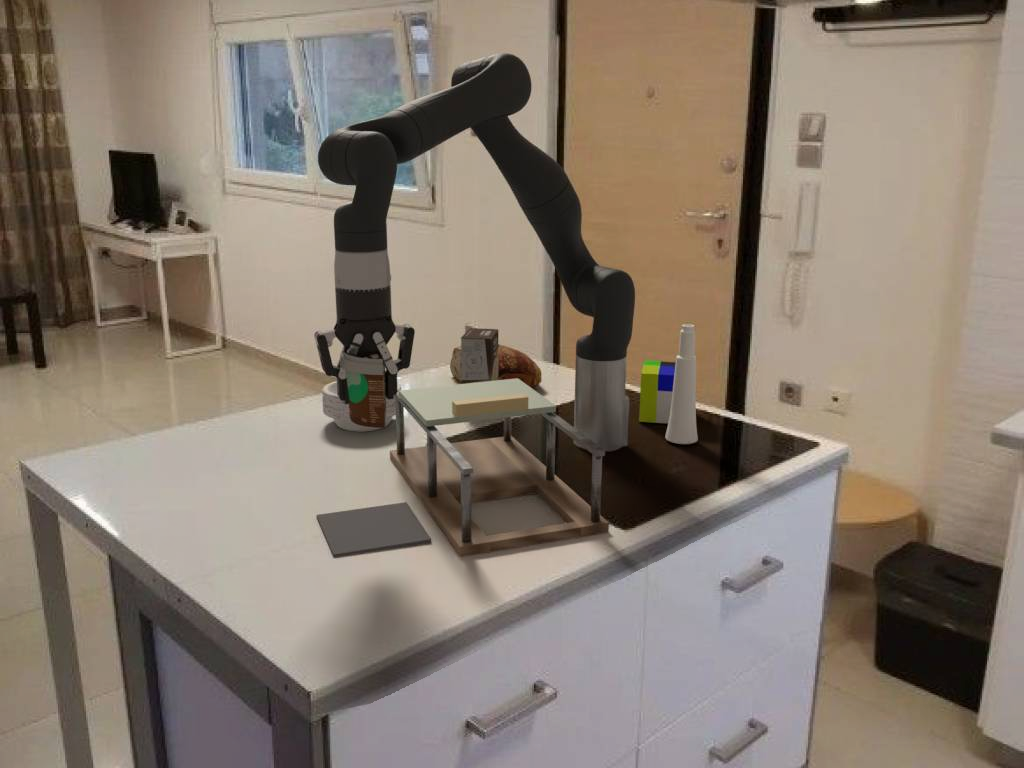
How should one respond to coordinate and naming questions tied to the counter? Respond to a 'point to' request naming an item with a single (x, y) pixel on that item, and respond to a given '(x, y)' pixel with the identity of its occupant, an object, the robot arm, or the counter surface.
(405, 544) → the charcoal mat
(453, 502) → the wooden base board
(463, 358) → the coffee box
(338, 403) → the paper bowls
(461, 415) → the sliding cover
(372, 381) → the food container
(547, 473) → the cover rails
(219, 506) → the counter surface
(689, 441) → the cosmetic bottle
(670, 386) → the puzzle toy
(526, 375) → the bread
